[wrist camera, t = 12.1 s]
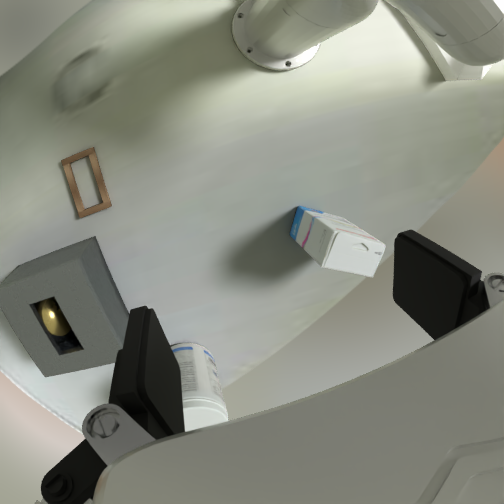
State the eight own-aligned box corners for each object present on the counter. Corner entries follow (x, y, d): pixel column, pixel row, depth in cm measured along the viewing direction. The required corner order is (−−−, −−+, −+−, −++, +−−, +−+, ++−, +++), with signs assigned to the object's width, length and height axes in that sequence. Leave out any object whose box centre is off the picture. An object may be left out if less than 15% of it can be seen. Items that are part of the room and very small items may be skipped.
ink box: (287, 236, 46) (320, 269, 35) (297, 204, 45) (334, 228, 34) (334, 247, 49) (374, 279, 38) (345, 218, 47) (389, 243, 36)
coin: (48, 285, 38) (71, 312, 41) (27, 315, 33) (53, 342, 37) (57, 284, 37) (80, 313, 41) (35, 316, 33) (62, 344, 36)
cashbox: (18, 265, 38) (-8, 292, 29) (95, 236, 39) (77, 260, 31) (59, 342, 44) (45, 377, 35) (133, 322, 45) (127, 359, 37)
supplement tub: (154, 374, 50) (154, 440, 37) (166, 334, 48) (167, 401, 34) (206, 384, 53) (218, 448, 40) (222, 346, 51) (239, 411, 37)
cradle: (63, 159, 35) (61, 160, 34) (93, 147, 35) (91, 147, 34) (81, 216, 38) (79, 218, 37) (111, 205, 38) (110, 206, 38)
